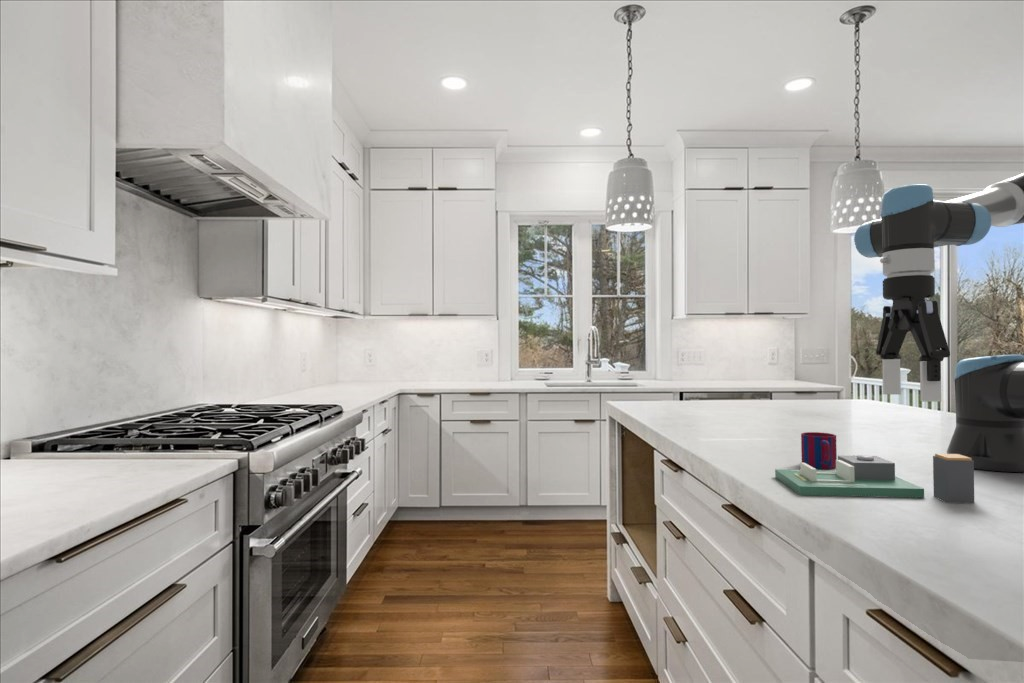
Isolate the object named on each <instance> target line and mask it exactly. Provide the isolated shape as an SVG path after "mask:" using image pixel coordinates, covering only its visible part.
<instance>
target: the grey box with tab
mask: <svg viewBox="0 0 1024 683" xmlns="http://www.w3.org/2000/svg"><path fill="white" fill-rule="evenodd" d="M837 460H841V461H844V462H846V463H848V464H850V465H852V466H854V477H855V479H876V480H895V476H896V464H895V462H893V461H890V460H888V459H885V458H882V457H881V456H877V455H863V454H858V455H837Z"/></svg>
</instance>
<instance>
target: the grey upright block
mask: <svg viewBox="0 0 1024 683" xmlns="http://www.w3.org/2000/svg"><path fill="white" fill-rule="evenodd" d="M932 464H933V465H932V466H933V467H932V475H933V478H932V480H933V482H932V483H933V497H934V498H936V499H938V498H939V499H938V500H940V499H941V501H942V500H943V501H942V502H944V501H945V503H946V504H975V468H974V461H973V460H972V458H969V457H966V456H963V455H960V454H947V453H934V455H932Z"/></svg>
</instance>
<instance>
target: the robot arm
mask: <svg viewBox="0 0 1024 683" xmlns="http://www.w3.org/2000/svg"><path fill="white" fill-rule="evenodd" d="M880 217H881V218H877V219H872V220H870V221H867V222H864V223H863V224H861V225H860V226H858V227H857V229H856V231H855V232H854V237H853V242H854V245H855V249H856V250H857V252H858V253H859V254H860V255H861V256H863V257H864V258H868V259H871V258H880V259H879V262H880V263H881V264H882V275H883V276H884V277H886V278H883V280H882V297H883V299H884V300H888V301H889V300H890V301H892V304H891V305H884V306H883V307H882V320H881V325H880V330H879V335H878V340H877V344H876V350H875V353H876V354H875V355H876V356H879V357H880V359H882V364H881V365H882V395H901V394H902V393H901V392H902V389H901V384H902V383H901V382H902V381H901V359H902V356H901V354H900V351H901V350H902V349H901V348H902V346H903V344H904V341H905V339H906V336H907V334H908V332H910V333H911V335H912V337H913V340H914V342H915V344H916V346H917V348H918V351H919V353H920V357H919V359H918V361H919V380H920V383H919V386H920V387H919V388H920V389H919V390H920V391H919V393H920V397H919V398H920V402H923V403H924V402H925V403H926V402H927V403H928V402H930V403H933V402H934V403H935V402H936V403H937V402H938V403H941V402H942V362H943V361H944V359H945V358H949V357H950V356H951V350H950V348H949V344H948V342H947V338H946V335H945V331H944V328H943V325H942V322H941V318H940V315H939V306H938V301H937V300H926V299H930V298H934V296H935V293H936V292H935V290H936V289H935V286H936V283H935V282H936V281H935V280H936V279H935V277H934V276H933V275H931V274H933V273H934V272H935V271H936V270H935V269H936V264H935V248H938V247H944V246H956V247H959V246H969V245H974V244H977V243H979V242H980V241H982V240H984V238H985V237H986V236H987V234H988V233H989V231H990V229H991V227H997V228H1005V227H1009V226H1013V225H1019V224H1024V172H1022V173H1020V174H1018V175H1016V176H1013V177H1009V178H1006V179H1004V180H1002V181H999V182H995V183H992V184H990V185H988V186H986V187H985V188H984V189H983V191H979V192H975V193H971V194H968V195H964V196H961V197H957V198H953V199H949V200H936V199H935V195H934V190H933V188H932V186H930V185H928V184H922V183H921V184H908V185H901V186H897V187H893V188H890V189H889V190H886V191H885V192H884V194H883V195H882V197H881V210H880ZM954 372H955V375H954V378H953V380H954V396H955V398H954V399H955V428H954V431H953V434H952V436H951V439H950V441H949V444H948V446H947V449H946V454H960V455H963V456H966V457H969V458H972V460H973V461H974V470H975V469H976V470H985V471H995V472H1005V473H1006V472H1008V473H1009V472H1010V473H1024V355H1023V354H1003V355H991V356H990V355H988V356H980V357H979V356H978V357H970V358H964V359H961V360H959V361H958V362H957V363H956V365H955V370H954Z"/></svg>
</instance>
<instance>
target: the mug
mask: <svg viewBox="0 0 1024 683" xmlns="http://www.w3.org/2000/svg"><path fill="white" fill-rule="evenodd" d="M800 437H801V438H800V440H801V441H800V443H801V445H800V446H801V451H800V452H801V463H806V464H808V465H810V466H811V467H813V468H815V469H816V468H818V469H817V470H835V469H836V460H838V455H837V435H836V434H834V433H828V432H818V431H816V432H814V431H813V432H812V431H809V432H802V433H801V434H800Z"/></svg>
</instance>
